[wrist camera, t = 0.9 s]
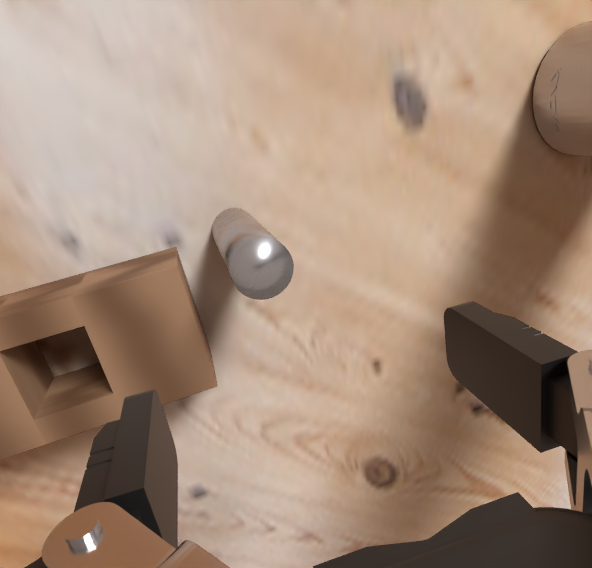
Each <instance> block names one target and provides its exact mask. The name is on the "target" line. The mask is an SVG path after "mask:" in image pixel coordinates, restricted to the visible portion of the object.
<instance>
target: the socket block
mask: <svg viewBox="0 0 592 568" xmlns="http://www.w3.org/2000/svg"><path fill="white" fill-rule="evenodd" d="M82 326H85V329H86V331H87V333H88V336H89V338H90V340H91V343H92V345H93V347H94V350H95V352H96V354H97V356H98V359H99V361H100V363H99V364H95V365H92V366H89V367H86V368H83V369H80V370H77V371H73V372H70V373H67V374H64V375H61V376H58V377H53V375H52V373H51V371H50V369H49V367H48V365H47V362H46V360H45V358H44V356H43V354H42V352H41V350H40V348H39V346H38V344H37V342H36V340H39V339H42V338H46V337H49V336H52V335H56V334H59V333H62V332H65V331H69V330H72V329H75V328H79V327H82ZM214 387H217V381H216V376H215V371H214V366H213V361H212V356H211V351H210V348H209V345H208V342H207V339H206V336H205V333H204V330H203V327H202V324H201V321H200V318H199V315H198V312H197V309H196V306H195V303H194V300H193V297H192V294H191V291H190V288H189V285H188V282H187V279H186V276H185V273H184V270H183V267H182V264H181V261H180V258H179V255H178V251H177V248H176V247H175V248H171V249H167V250H164V251H160V252H157V253H153V254H150V255H146V256H143V257H139V258H136V259H132V260H128V261H125V262H121V263H118V264H114V265H111V266H107V267H104V268H100V269H97V270H93V271H89V272H86V273H82V274H79V275H75V276H72V277H68V278H65V279H61V280H58V281H54V282H50V283H47V284H43V285H40V286H36V287H33V288H29V289H26V290H22V291H19V292H15V293H12V294H8V295H4V296H1V297H0V460H1V459H4V458H7V457H10V456H13V455H16V454H19V453H22V452H25V451H28V450H31V449H34V448H37V447H40V446H42V445H45V444H48V443H51V442H54V441H57V440H60V439H63V438H66V437H69V436H72V435H75V434H78V433H81V432H84V431H87V430H90V429H93V428H96V427H99V426H101V425H104V424H106V423H108V422H112V421H115V420H119V419H120V416H121V412H122V407H123V402H124V398H125V397H128V396H131V395H135V394H139V393H142V392H146V391H149V390H153V389H155V390H156V391H157V393H158V395H159V398H160V401H161V404H162V405H163V404H166V403H169V402H172V401H175V400H178V399H181V398H184V397H187V396H190V395H193V394H196V393H199V392H202V391H205V390H208V389H211V388H214Z"/></svg>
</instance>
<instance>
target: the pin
mask: <svg viewBox="0 0 592 568" xmlns="http://www.w3.org/2000/svg"><path fill="white" fill-rule="evenodd" d="M212 235H213V238H214V240H215V243H216V245H217V247H218V249H219V252H220V254H221V256H222V258H223V260H224V263H225V265H226V267H227V269H228V271H229V274H230V276H231V278H232V280H233V283H234V284H235V286H236V288H237V289H238V290H239V291H240V292H241V293H242V294H244V295H245V296H247V297H249V298H253V299H258V300H263V299H269V298H272V297H274V296H276V295H278V294H280V293H281V292H282V291H283V290H284V289H285V288H286V287H287V286H288V284H289V282H290V280H291V278H292V275H293V260H292V257H291V255H290V253H289V251H288V250H287V249H286V247H285V246H283V245H282V244H281V243H280V242H279V241H278V240H277V239H276V238H275V237H274V236H273V235H272V234H271V233H270V232H268V231H267V230H266V229H265V228H264V227H263V226H262V225H261V224H260V223H259V222H258V221H257V220H256V219H255V218H253V217H252V216H251V215H250V214H249V213H248V212H246V211H245V210H242V209H239V208H231V209H227V210H225V211H223V212H221V213H220V214H219V215H218V216H217V217H216V219H215V220H214V223H213V226H212Z"/></svg>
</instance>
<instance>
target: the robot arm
mask: <svg viewBox="0 0 592 568" xmlns="http://www.w3.org/2000/svg"><path fill="white" fill-rule="evenodd" d="M533 111H534V118H535V121H536V124H537V127H538V130H539V132H540V134H541V135H542V137H543V139H544V140H545V141H546V142H547V143H548V144H549V145H550V146H551V147H552V148H554V149H555V150H557V151H559V152H561V153H565V154H570V155H590V156H592V21H590V22H587V23H583V24H580V25H578V26H576V27H574V28H572V29H570V30H568V31H567V32H566V33H565V34H563V35H562V36H561V37H560V38H558V40H557V41H556V42H555V43H554V44H553V46H552V47H551V48H550V49H549V51H548V53H547V54H546V56H545V58H544V59H543V61H542V63H541V66H540V68H539V71H538V74H537V76H536V81H535V85H534V90H533ZM444 326H445V340H446V354H447V362H448V365H449V368H450V370H451V372H452V374H453V376H454V377H455V378H456V379H457V380H458V381H459V382H460V383H461V384H462V385H463V386H465V387H466V388H467V389H468V390H469V391H470V392H472V393H473V394H474V395H475V396H476V397H477V398H478V399H480V400H481V401H482V402H483V403H484V404H485V405H486V406H488V407H489V408H490V409H491V410H492V411H493V412H494V413H496V414H497V415H498V416H499V417H500V418H501V419H502V420H504V421H505V422H506V423H507V424H508V425H509V426H511V427H512V428H513V429H514V430H515V431H516V432H517V433H519V434H520V435H521V436H522V437H523V438H524V439H525V440H527V441H528V442H529V443H530V444H531V445H532V446H533V447H535V448H536V449H537V450H538V451H539V452H540V453H541V452H544V451H547V450H550V449H553V448H556V447H559V446H562V447H563V448H565V468H566V475H567V483H568V490H569V497H570V504H571V510H570V509H563V508H553V507H538V508H533V507H532V506H531V505H530V504H529V503H528V502H527V501H526V500H525V499H524V498H523V497H522V496H521V495H520V494H519V493H518V492H517V493H514V494H511V495H509V496H506V497H503V498H500V499H498V500H495V501H492V502H489V503H487V504H484V505H481V506H478V507H476V508H473V509H470V510H469V511H468V512H466V513H465V514H463V515H462V516H461V517H459V518H458V519H456V520H455V521H454V522H452V523H451V524H449V525H448V526H447V527H445V528H444V529H442V530H441V531H439V532H438V533H437V534H435V535H434V536H432V537H431V538H429V539H427V540H423V541H416V542H407V543H398V544H389V545H380V546H372V547H365V548H363V549H360V550H357V551H354V552H352V553H349V554H346V555H343V556H340V557H338V558H335V559H332V560H329V561H327V562H324V563H321V564H318V565H316V566H313V568H592V350H586V351H581V352H577V351H575V350H573V349H571V348H570V347H568V346H566V345H564V344H562V343H560V342H558V341H557V340H555V339H553V338H551V337H549V336H547V335H545V334H541V332H540V331H538V330H536V329H534V328H532V327H530V328H529V325H527V324H525V323H523V322H521V321H519V320H518V319H516V318H513V317H510V316H506V315H502V314H498V313H493V312H492V311H490V310H488V309H486V308H484V307H483V306H481V305H479V304H477V303H475V302H468V303H465V304H461V305H457V306H454V307H450V308H447V309H446V310H445V313H444ZM86 467H87V470H85V474H84V477H83V481H82V484H81V488H80V492H79V495H78V499H77V502H76V506H75V510H74V513H72V514H71V515H69V516H68V517H66V518H65V519H64V520H63V521H61V522H60V523H59V524H58V525H57V526H56V527H55V528H54V529H53V531H52V532H51V533H50V534H49V536H48V538H47V539H46V541H45V543H44V546H43V549H42V557H40V558H39V559H38V560H36V561H35V562H33V563H31V564H30V565H28V566H27V567H25V568H230V567H228V566H227V565H226V564H224V563H223V562H221V561H220V560H218V559H217V558H216V557H214V556H213V555H211V554H210V553H209V552H207V551H206V550H204V549H203V548H202V547H200V546H199V545H197V544H196V543H194V542H192V541H189V540H185V541H184V542H183V543H182V544H181V545H180V546H179V547H178V548H177V505H178V464H177V455H176V449H175V445H174V441H173V438H172V435H171V431H170V428H169V425H168V422H167V419H166V416H165V413H164V410H163V407H162V404H161V401H160V398H159V395H158V393H157V391H156V390H155V389H153V390H149V391H146V392H142V393H139V394H135V395H131V396H128V397H125V398H124V402H123V407H122V412H121V416H120V419H119V420H115V421H112V422H108V423H106V424H105V426H104V427H103V428H102V429H101V431H100V432H99V433H98V434H97V436H96V437H95V438H94V441H93V445H92V448H91V452H90V457H89V459H88V463H87V466H86Z"/></svg>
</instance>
